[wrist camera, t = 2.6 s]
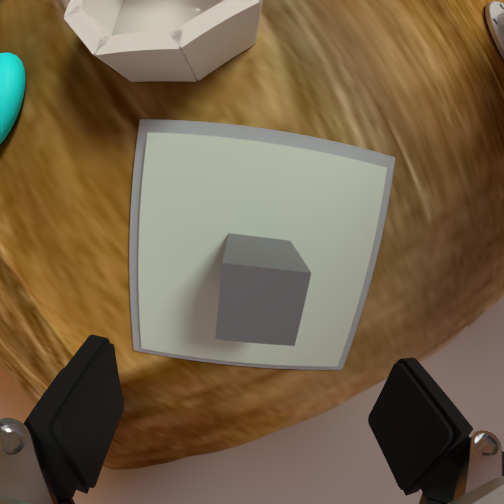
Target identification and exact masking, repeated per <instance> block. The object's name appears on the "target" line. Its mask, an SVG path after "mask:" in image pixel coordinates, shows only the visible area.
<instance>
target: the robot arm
mask: <svg viewBox="0 0 504 504" xmlns="http://www.w3.org/2000/svg"><path fill="white" fill-rule="evenodd" d="M485 16H486V21H487V24H488V27H489V30H490V33H491V35H492V38H493V40H494V42H495V44H496V46H497V48H498V50H499V52H500V54H501V56H502V58H503V59H504V4H503V3H501V2H498V1H492V2H490V3H488V4H487V5H486V8H485ZM123 408H124V402H123V397H122V392H121V387H120V381H119V375H118V369H117V363H116V356H115V349H114V345H113V344H111V343H110V342H109V340H108V338H104V337H100V336H96V335H90V336H89V337H88V338H87V340H86V341H85V342H84V343H83V345H82V346H81V347H80V349H79V350H78V351H77V352H76V354H75V355H74V356H73V358H72V359H71V360H70V362H69V363H68V364H67V366H66V367H65V368H63V369H62V370H61V371H60V372H59V374H58V375H57V376H56V378H55V379H54V380H53V382H52V383H51V385H50V386H49V387H48V389H47V390H46V391H45V393H44V394H43V396H42V397H41V399H40V400H39V401H38V403H37V404H36V406H35V407H34V409H33V410H32V412H31V413H30V415H29V416H28V418H27V419H26V421H25V422H24V424H23V423H21V422H20V421H18V420H15V419H12V418H4V419H0V504H75V502H74V500H73V499H72V497H73V496H74V493H75V490H79V491H81V492H84V493H86V494H87V493H88V490H89V487H91V488H94V487H95V485H96V482H97V480H98V477H99V474H100V471H101V468H102V465H103V462H104V460H105V457H106V454H107V451H108V449H109V446H110V443H111V441H112V438H113V435H114V433H115V430H116V428H117V425H118V423H119V420H120V417H121V415H122V412H123ZM368 421H369V425H370V427H371V429H372V431H373V433H374V435H375V437H376V439H377V441H378V444H379V446H380V448H381V450H382V452H383V454H384V456H385V458H386V460H387V462H388V464H389V467H390V469H391V471H392V473H393V475H394V477H395V479H396V482H397V484H398V486H399V487H400V489H401V490H404V493H405V495H406V496H407V495H409V494H412V493H415V492H418V491H419V490H420V489H421V490H422V492H423V493H422V496H421V499H420V502H419V504H504V452H502V447H501V443H500V441H499V439H498V438H497V437H496V436H495V435H494V434H492V433H491V432H488V431H483V430H482V431H477V432H476V433H474V434H473V436H472V437H471V438H470V437H469V436H468V435H469V434H470V433H471V431H472V430H473V428H472V426H471V425H470V424H469V423H468V421H467V420H466V419H465V418H464V416H463V415H462V414H461V413H460V411H459V410H458V409H457V408H456V406H455V405H454V404H453V403H452V401H451V400H450V399H449V398H448V396H447V395H446V394H445V393H444V392H443V390H442V389H441V388H440V387H439V386H438V385H437V383H436V382H435V381H434V380H433V378H432V377H431V376H430V375H429V374H428V372H426V370H425V369H424V368H423V367H422V365H421V364H420V363H419V362H418V361H417V360H416V359H415V358H405V359H399V360H398V361H397V363H395V364H394V366H393V368H392V370H391V372H390V374H389V376H388V379H387V381H386V383H385V385H384V387H383V389H382V391H381V393H380V395H379V397H378V399H377V401H376V403H375V405H374V407H373V409H372V411H371V413H370V414H369V419H368Z"/></svg>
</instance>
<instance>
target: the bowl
mask: <svg viewBox="0 0 504 504" xmlns="http://www.w3.org/2000/svg"><path fill="white" fill-rule="evenodd" d="M262 4H263V0H70V3H69V5H68V7H67V10H66V12H65V15H64V19H65V20H66V22H67V23H68V24H69V25H70V27H71V28H72V29H73V30H74V32H75V33H76V34H77V35H78V37H79V38H80V39H81V40H82V42H83V43H84V44H85V45H86V47H87V48H88V49H89V50H90V52H91V53H92V54H93V55H94V56H96V57H97V58H98V59H100V60H101V61H103V62H104V63H106V64H107V65H108V66H110V67H111V68H113V69H114V70H115V71H117V72H118V73H120V74H121V75H122V76H124V77H125V78H127V79H128V80H129V81H131V82H147V81H182V82H196V81H197V80H198V81H200V80H201V79H202V78H204V77H205V76H207V75H208V74H209V73H211V72H212V71H214V70H215V69H217V68H218V67H220V66H221V65H223V64H224V63H226V62H227V61H229V60H230V59H232V58H233V57H235V56H237V55H238V54H240V53H241V52H243V51H245V50H246V49H248V48H250V47H251V46H253V45H255V43H256V38H257V32H258V27H259V21H260V15H261V9H262Z"/></svg>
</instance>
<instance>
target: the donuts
mask: <svg viewBox="0 0 504 504" xmlns="http://www.w3.org/2000/svg"><path fill="white" fill-rule="evenodd" d="M25 84H26V76H25V69H24V66H23V63H22V61H21V60H20V59H19V58H18V57H17V56H16V55H14V54H12V53H0V144H1V143H2V142H3V140H4V139H5V138H6V136H7V135H8V133H9V132H10V130H11V128H12V127H13V125H14V123H15V121H16V118H17V116H18V114H19V111H20V108H21V105H22V101H23V97H24V92H25Z"/></svg>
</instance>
